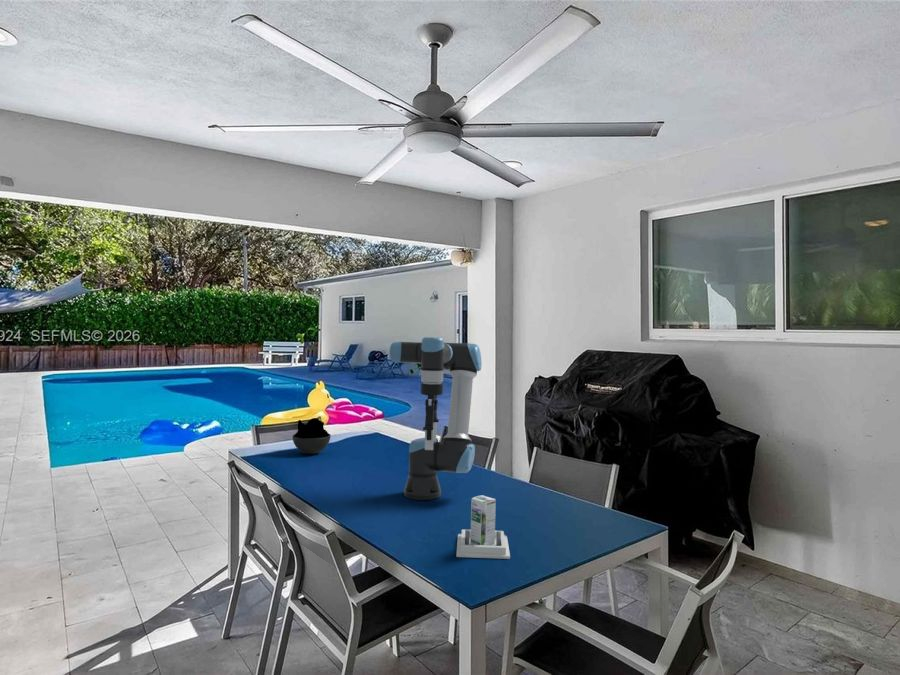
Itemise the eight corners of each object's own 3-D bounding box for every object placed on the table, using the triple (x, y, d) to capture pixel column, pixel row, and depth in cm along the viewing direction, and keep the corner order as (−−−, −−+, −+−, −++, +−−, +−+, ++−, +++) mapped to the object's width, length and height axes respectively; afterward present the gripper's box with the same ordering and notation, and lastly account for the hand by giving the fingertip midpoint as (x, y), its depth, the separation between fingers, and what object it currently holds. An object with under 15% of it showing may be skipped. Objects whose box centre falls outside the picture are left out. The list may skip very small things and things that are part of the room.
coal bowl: (332, 449, 298) (333, 416, 298) (326, 458, 278) (327, 422, 278) (296, 449, 297) (297, 415, 296) (288, 457, 277) (288, 422, 276)
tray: (458, 536, 174) (458, 521, 174) (506, 538, 174) (507, 523, 174) (456, 556, 158) (456, 540, 158) (510, 559, 158) (510, 542, 158)
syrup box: (469, 543, 166) (470, 497, 166) (482, 539, 171) (482, 494, 170) (483, 549, 162) (483, 502, 162) (495, 544, 167) (496, 498, 166)
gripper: (424, 379, 192) (423, 437, 192) (416, 386, 167) (415, 453, 167) (445, 379, 192) (443, 438, 192) (440, 386, 167) (439, 454, 167)
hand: (430, 445), depth 180 cm, fingers open, 13 cm apart
